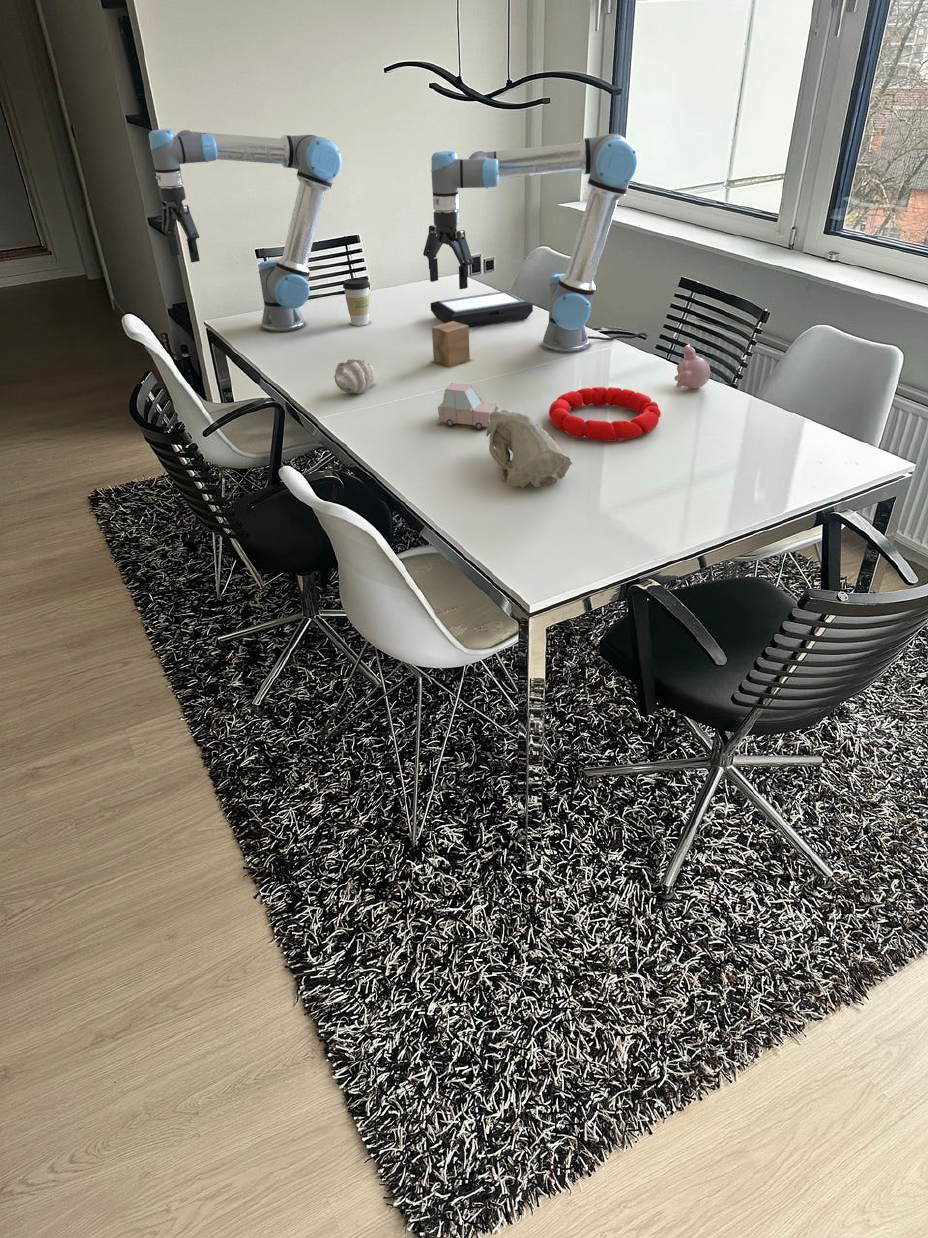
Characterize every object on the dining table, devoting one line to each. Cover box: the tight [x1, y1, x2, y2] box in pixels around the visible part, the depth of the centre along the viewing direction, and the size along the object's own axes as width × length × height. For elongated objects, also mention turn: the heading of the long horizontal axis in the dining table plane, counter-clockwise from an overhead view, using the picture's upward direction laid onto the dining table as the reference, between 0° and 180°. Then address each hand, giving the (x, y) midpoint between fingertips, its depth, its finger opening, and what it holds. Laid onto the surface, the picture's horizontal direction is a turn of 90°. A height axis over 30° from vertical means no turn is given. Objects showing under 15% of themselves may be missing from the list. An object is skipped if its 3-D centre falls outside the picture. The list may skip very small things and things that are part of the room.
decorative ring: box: [548, 386, 661, 442], centre depth 242 cm, size 7×30×30 cm
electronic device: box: [430, 290, 534, 329], centre depth 325 cm, size 32×6×20 cm
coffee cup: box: [342, 277, 371, 327], centre depth 323 cm, size 10×10×15 cm
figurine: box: [674, 344, 711, 390], centre depth 259 cm, size 9×11×12 cm
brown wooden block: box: [431, 321, 471, 368], centre depth 286 cm, size 8×9×11 cm
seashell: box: [333, 359, 375, 394], centre depth 265 cm, size 10×15×10 cm
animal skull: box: [485, 409, 573, 489], centre depth 216 cm, size 17×25×20 cm
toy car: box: [437, 382, 499, 431], centre depth 243 cm, size 9×15×10 cm, turn 70°
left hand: (185, 258), depth 289 cm, fingers open, 13 cm apart
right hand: (448, 284), depth 276 cm, fingers open, 13 cm apart
